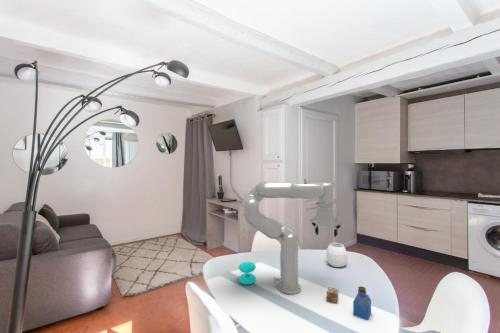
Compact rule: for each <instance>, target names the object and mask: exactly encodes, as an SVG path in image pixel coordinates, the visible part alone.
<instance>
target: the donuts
mask: <svg viewBox="0 0 500 333" xmlns="http://www.w3.org/2000/svg"><path fill="white" fill-rule="evenodd" d="M256 268H257V267H256V264H255V263H254V262H252V261H251V262H250V261H243V262H241V263H240V264H239V265H238V270H239V271H240V272H241V273H242V274H241V275H239V277H238V281H239V283H241V284H242V285H245V286H247V285H248V286H249V285H252V284H254V283H255V282H256V280H257V278H256V276H255V275H254V273H253V272H254V271H255V270H256Z"/></svg>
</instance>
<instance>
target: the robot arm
mask: <svg viewBox="0 0 500 333" xmlns="http://www.w3.org/2000/svg"><path fill="white" fill-rule="evenodd" d="M333 192H334V188H333V184H332V183H330V182H320V183H316V182H307V183H305V184H303V183H300V184H299V183H295V182H286V181H284V182H283V181H282V182H281V181H280V182H278V181H277V182H276V181H272V182H271V181H270V182H268V181H263V180H262V181H260V182H259V183H257V184H256V185H255V186H254V187H253V188H252V189H251V190H249V192H248V193H247V194H245V195H244V197H243V198H242V201H241V206H242V207H243V216H244V220H245V221H246V222H247V224H248V225H249V226H251V227H252V228H254V229H256V230H257V231H259V232H260V233H261V234H263V235H264V236H266V237H267V238H269V239H271V240H276V241H278V242H279V244H280V256H279V260H280V262H279V264H280V265H279V266H280V277H276V276H275V277H274V278H273V281H274V284H277V289H278V291H280V292H281V293H283V294H284V295H296V294H299V293H301V290H302V286H301V284H300V283H299V260H298V259H299V256H298V255H299V247H300V246H299V244H300V242H299V238H298V236H297V235H296V234H295V232H293V231H292V230H291V229H290V228H288V227H287V226H286V225H284V224H282V223H281V222H279V221H277V219H274V218H273V217H267V216H266V215H264V214H263V213H261V211H260V202H262V200H263V199H302V200H303V199H304V200H305V199H310V200H311V199H318V202H315V205H317V207H316V216H315V217H312V218H310V219H309V220H310V222H311V225H312V226H313V227H314V232H315V235H316V236H318V235H319V226H322V227H332V228H333V229H334V230H333V237H334V238H337V236H338V229H339V228H341V227H342V225H343V221H342V220H340V219H338V218H336V212H335V207H334V201H333V199H334V194H333ZM315 220H316V221H315ZM336 222H337V223H338V225H336V224H337V223H336Z"/></svg>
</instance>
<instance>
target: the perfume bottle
mask: <svg viewBox="0 0 500 333" xmlns="http://www.w3.org/2000/svg"><path fill="white" fill-rule="evenodd" d="M366 289H367V288H366V287H364V286H358V289H357V294H356V296H355V297H354V300H353V301H352V305H353V308H352V311H353V316H354V317H357V318H361V319H363V320H366V321H369V319H370V316H371V314H372V299H371V298H370V296H369V294H367V290H366Z"/></svg>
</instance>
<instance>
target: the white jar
mask: <svg viewBox="0 0 500 333" xmlns="http://www.w3.org/2000/svg"><path fill="white" fill-rule="evenodd" d="M326 261H327V263H328V264H329V265H330V266H332V267H335V268H343V267H345V266H346V265H347V263H348V253H347V250H346V247H345V245H344V244H342V243H339V242H331V243H329V245H328V246H327V249H326Z"/></svg>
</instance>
